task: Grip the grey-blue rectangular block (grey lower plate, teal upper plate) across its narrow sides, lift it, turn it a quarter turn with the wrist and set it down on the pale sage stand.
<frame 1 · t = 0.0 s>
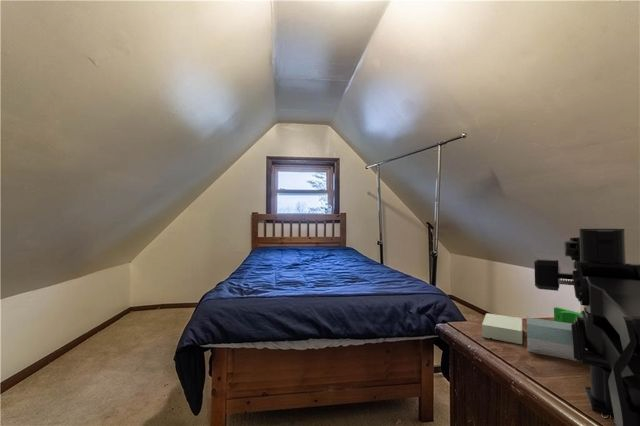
hand: (585, 271, 67), 17 cm above the dresser, tool horizontal, fingers open, 9 cm apart
sage stand: (502, 333, 75), on the dresser
pipe clamp: (575, 332, 75), on the dresser
grey-blue rectangular block: (550, 351, 65), on the dresser
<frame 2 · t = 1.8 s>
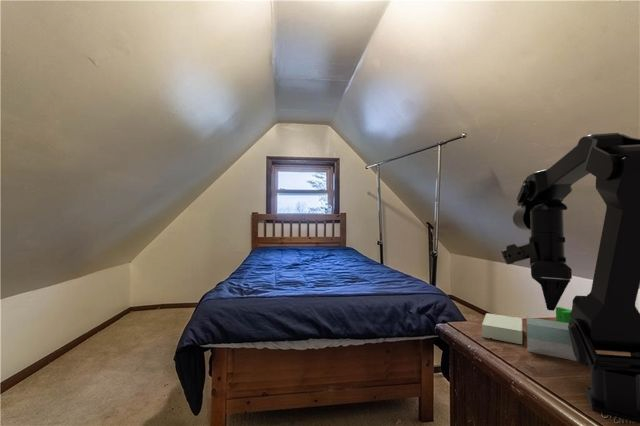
hand: (549, 304, 65), 10 cm above the dresser, tool pointing down, fingers open, 9 cm apart
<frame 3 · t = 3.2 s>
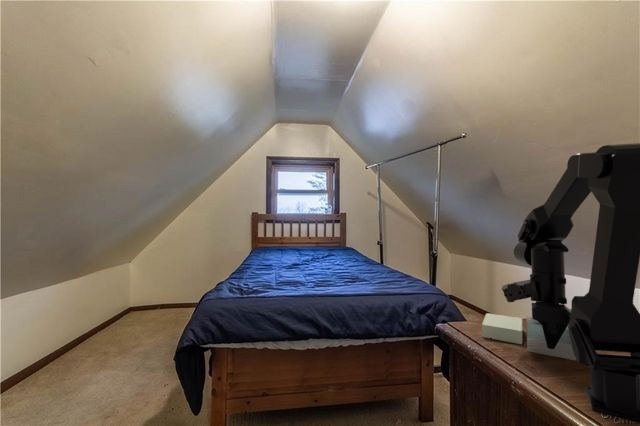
hand: (549, 343, 65), 2 cm above the dresser, tool pointing down, fingers closed on grey-blue rectangular block, 5 cm apart
grey-blue rectangular block: (550, 351, 65), on the dresser, touching gripper
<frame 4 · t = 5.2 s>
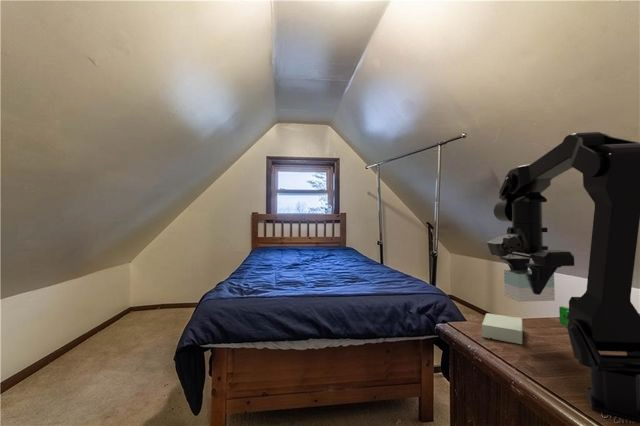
hand: (528, 291, 69), 12 cm above the dresser, tool pointing down, fingers closed on grey-blue rectangular block, 5 cm apart
grey-blue rectangular block: (528, 298, 69), point 10 cm above the dresser, touching gripper
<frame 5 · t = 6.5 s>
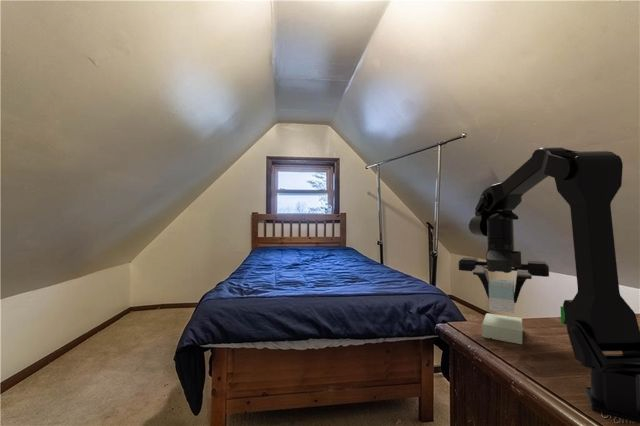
hand: (502, 301, 75), 8 cm above the dresser, tool pointing down, fingers closed on grey-blue rectangular block, 5 cm apart
grey-blue rectangular block: (502, 307, 75), point 7 cm above the dresser, touching gripper
when the fingers open (6 cm above the dresser, at t = 7.4 s): grey-blue rectangular block drops 1 cm, resting on sage stand.
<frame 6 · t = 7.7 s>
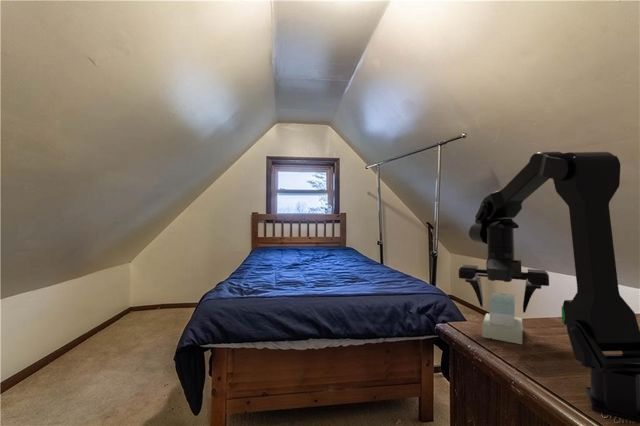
hand: (502, 309, 75), 6 cm above the dresser, tool pointing down, fingers open, 9 cm apart
grey-blue rectangular block: (502, 321, 75), point 3 cm above the dresser, touching sage stand
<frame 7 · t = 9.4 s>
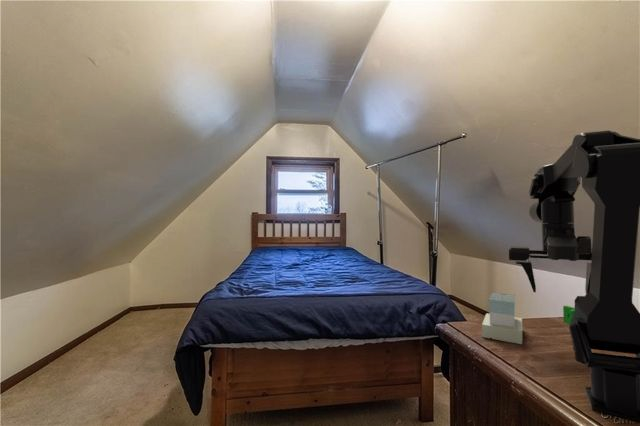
hand: (560, 294, 66), 12 cm above the dresser, tool pointing down, fingers open, 9 cm apart
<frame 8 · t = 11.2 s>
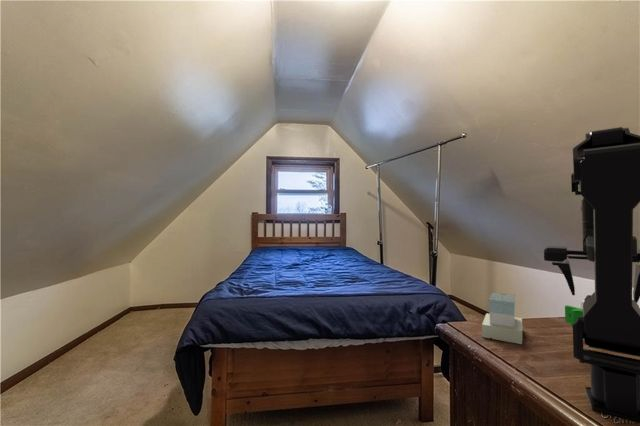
hand: (603, 298, 61), 12 cm above the dresser, tool pointing down, fingers open, 9 cm apart
at the end: grey-blue rectangular block 0.1 cm off-centre on the sage stand, point 3.0 cm above the sage stand's base; grey-blue rectangular block tilted 0°; the gripper is holding nothing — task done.
